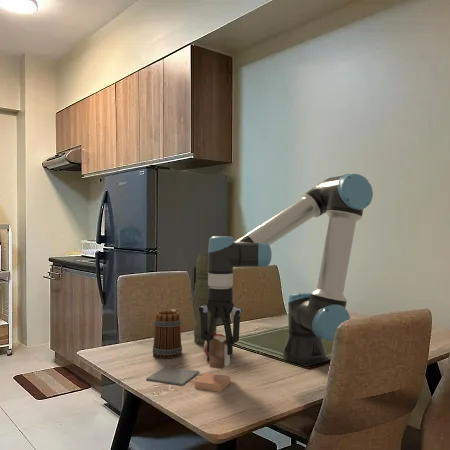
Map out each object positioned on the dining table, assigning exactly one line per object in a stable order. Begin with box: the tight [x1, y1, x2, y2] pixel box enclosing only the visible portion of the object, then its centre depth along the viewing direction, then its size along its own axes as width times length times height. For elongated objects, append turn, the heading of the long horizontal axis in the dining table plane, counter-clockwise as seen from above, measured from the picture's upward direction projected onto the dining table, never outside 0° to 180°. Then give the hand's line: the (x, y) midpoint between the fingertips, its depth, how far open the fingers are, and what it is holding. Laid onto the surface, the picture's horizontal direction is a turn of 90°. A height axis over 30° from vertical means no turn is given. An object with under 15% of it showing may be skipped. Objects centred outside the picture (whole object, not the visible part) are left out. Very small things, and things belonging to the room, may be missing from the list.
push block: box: [209, 336, 227, 370], centre depth 132 cm, size 4×6×8 cm, turn 159°
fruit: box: [203, 330, 226, 359], centre depth 154 cm, size 9×10×10 cm
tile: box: [194, 372, 231, 393], centre depth 127 cm, size 8×2×8 cm
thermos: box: [191, 253, 217, 345], centre depth 175 cm, size 9×12×35 cm
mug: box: [152, 308, 183, 359], centre depth 159 cm, size 16×11×15 cm
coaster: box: [146, 366, 200, 386], centre depth 134 cm, size 12×12×1 cm
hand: (219, 364), depth 132 cm, fingers closed on push block, 4 cm apart
